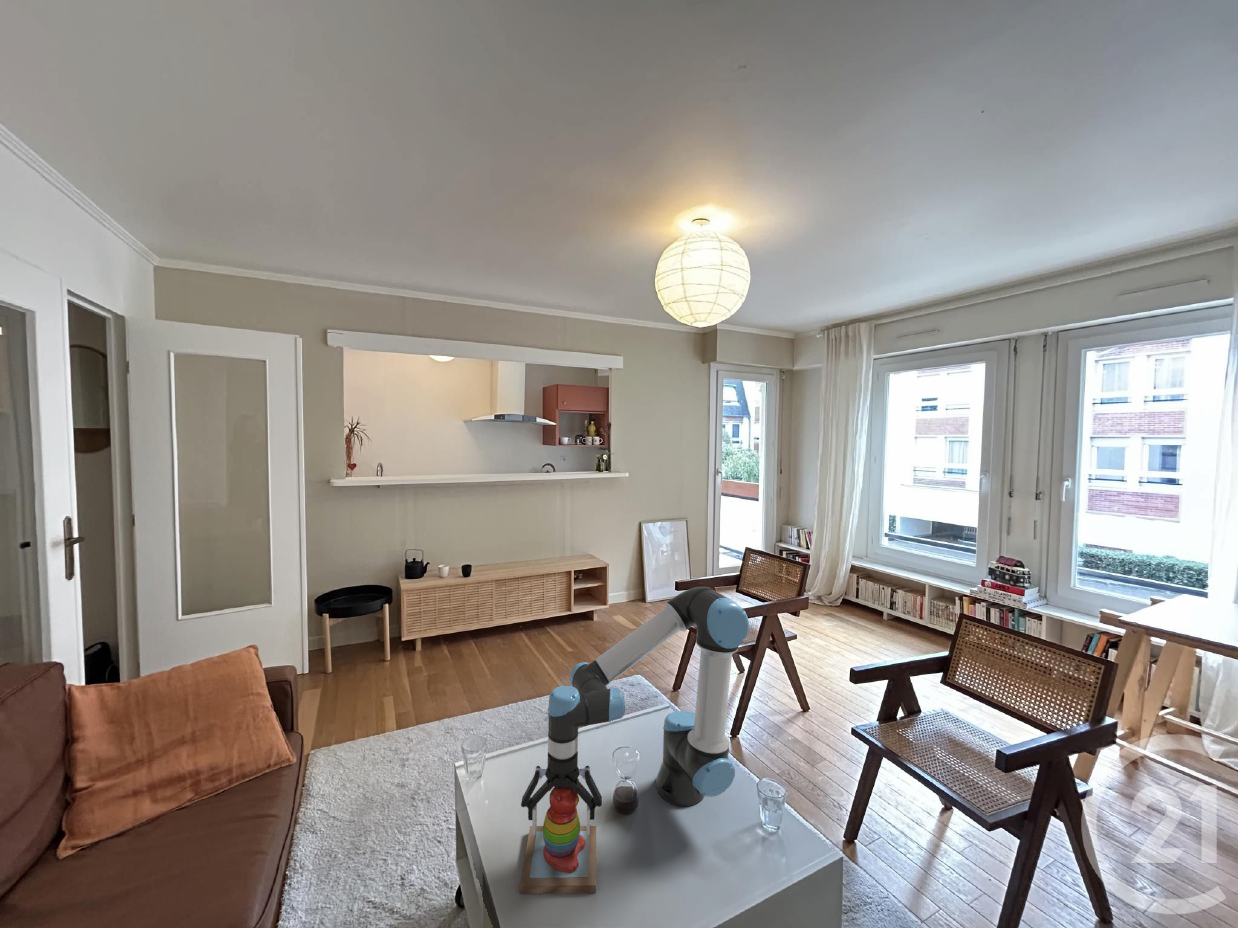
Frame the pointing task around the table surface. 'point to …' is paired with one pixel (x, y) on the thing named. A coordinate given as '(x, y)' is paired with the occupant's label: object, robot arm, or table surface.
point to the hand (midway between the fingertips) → (561, 830)
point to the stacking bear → (562, 831)
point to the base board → (550, 880)
